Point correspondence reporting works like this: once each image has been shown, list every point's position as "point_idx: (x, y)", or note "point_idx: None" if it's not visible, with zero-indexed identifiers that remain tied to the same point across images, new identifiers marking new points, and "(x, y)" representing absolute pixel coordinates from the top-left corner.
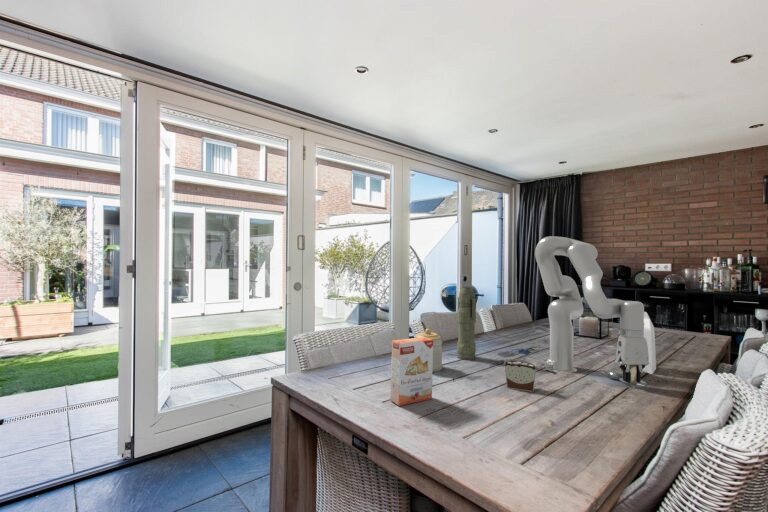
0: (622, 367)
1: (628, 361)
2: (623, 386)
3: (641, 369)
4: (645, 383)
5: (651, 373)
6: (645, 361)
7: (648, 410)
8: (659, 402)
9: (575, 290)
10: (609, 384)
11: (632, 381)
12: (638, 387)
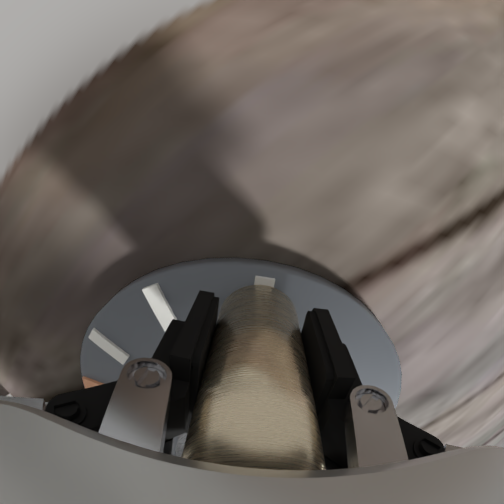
0: (426, 437)
1: (496, 486)
2: (338, 314)
3: (130, 383)
4: (99, 324)
5: (10, 396)
6: (8, 457)
7: (463, 10)
8: (306, 26)
9: None
10: (390, 360)
11: (284, 312)
12: (230, 270)
